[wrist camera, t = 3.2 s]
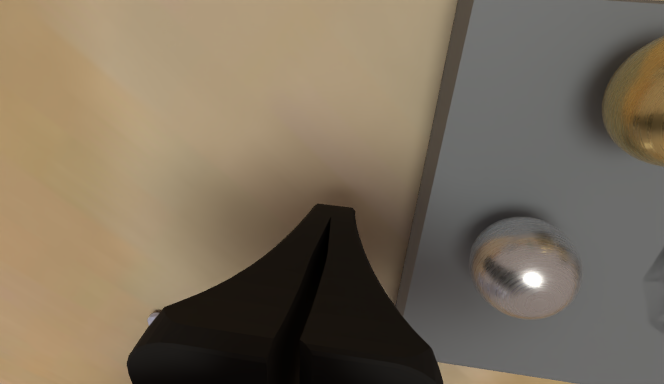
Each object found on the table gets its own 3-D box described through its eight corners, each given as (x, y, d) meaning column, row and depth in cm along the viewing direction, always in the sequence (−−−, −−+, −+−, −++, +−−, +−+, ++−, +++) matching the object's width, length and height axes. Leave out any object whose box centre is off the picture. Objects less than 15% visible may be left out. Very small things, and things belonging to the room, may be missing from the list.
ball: (540, 275, 14) (576, 349, 11) (453, 264, 14) (467, 333, 11) (573, 203, 12) (625, 270, 10) (474, 192, 13) (497, 254, 10)
